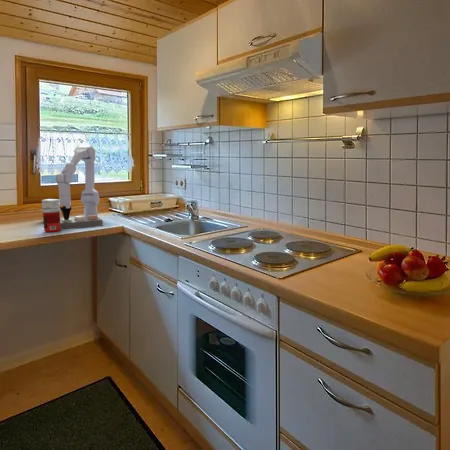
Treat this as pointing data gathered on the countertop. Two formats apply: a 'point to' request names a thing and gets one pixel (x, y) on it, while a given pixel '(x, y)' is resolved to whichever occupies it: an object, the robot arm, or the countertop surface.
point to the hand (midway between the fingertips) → (66, 219)
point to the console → (81, 223)
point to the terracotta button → (92, 217)
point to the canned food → (51, 221)
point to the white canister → (51, 205)
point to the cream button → (79, 218)
